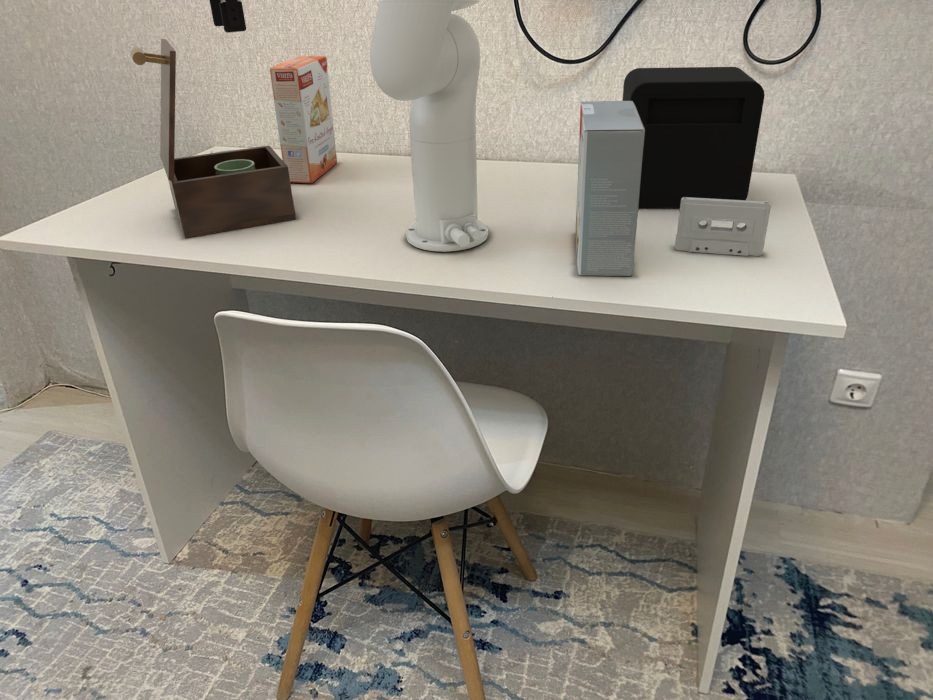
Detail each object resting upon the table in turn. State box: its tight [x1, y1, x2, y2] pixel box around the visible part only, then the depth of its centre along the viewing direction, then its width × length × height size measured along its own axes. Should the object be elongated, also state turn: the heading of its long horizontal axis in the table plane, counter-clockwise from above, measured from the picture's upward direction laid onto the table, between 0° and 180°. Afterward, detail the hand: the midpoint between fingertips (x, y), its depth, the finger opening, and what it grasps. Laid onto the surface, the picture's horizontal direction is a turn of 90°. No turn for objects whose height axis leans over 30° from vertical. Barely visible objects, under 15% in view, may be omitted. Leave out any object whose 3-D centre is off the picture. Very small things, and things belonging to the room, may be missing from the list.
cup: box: [214, 159, 256, 176], centre depth 124 cm, size 6×6×8 cm
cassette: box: [674, 197, 772, 257], centre depth 104 cm, size 12×2×8 cm, turn 75°
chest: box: [167, 145, 297, 239], centre depth 124 cm, size 18×15×9 cm
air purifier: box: [621, 66, 765, 209], centre depth 123 cm, size 20×15×20 cm
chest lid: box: [130, 38, 177, 181], centre depth 113 cm, size 19×15×5 cm
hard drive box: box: [575, 100, 645, 277], centre depth 101 cm, size 16×8×20 cm, turn 174°
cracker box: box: [269, 55, 338, 184], centre depth 140 cm, size 14×6×21 cm, turn 168°
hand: (230, 28), depth 115 cm, fingers open, 9 cm apart
